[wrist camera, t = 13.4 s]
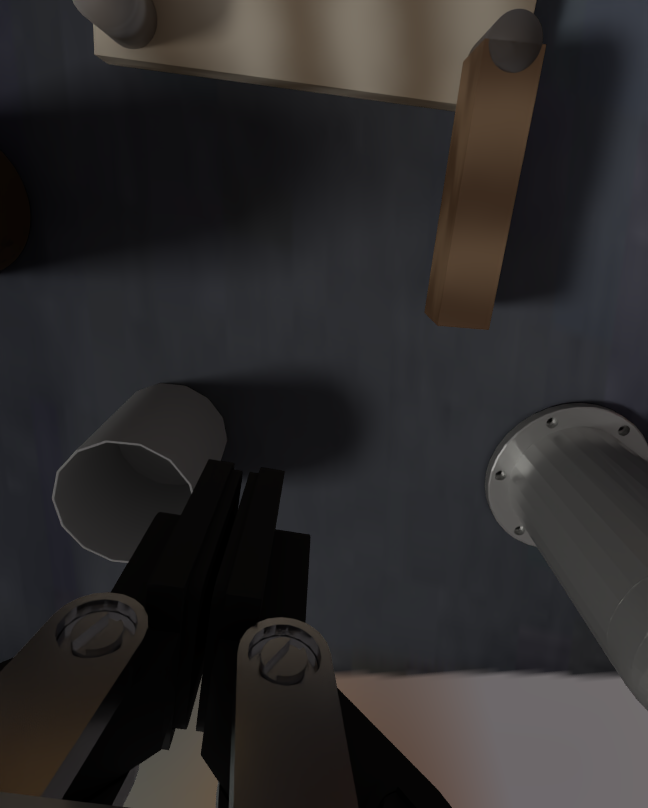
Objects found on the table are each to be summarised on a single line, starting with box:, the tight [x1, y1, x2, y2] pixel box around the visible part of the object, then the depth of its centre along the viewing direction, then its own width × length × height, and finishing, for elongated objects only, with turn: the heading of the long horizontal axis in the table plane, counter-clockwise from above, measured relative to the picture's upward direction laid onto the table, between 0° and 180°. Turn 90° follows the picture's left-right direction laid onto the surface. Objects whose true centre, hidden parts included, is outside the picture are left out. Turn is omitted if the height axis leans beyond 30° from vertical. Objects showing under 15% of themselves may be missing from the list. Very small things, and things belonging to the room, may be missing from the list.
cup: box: [52, 383, 227, 563], centre depth 34 cm, size 8×8×10 cm
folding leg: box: [425, 9, 546, 330], centre depth 28 cm, size 15×3×4 cm, turn 175°
